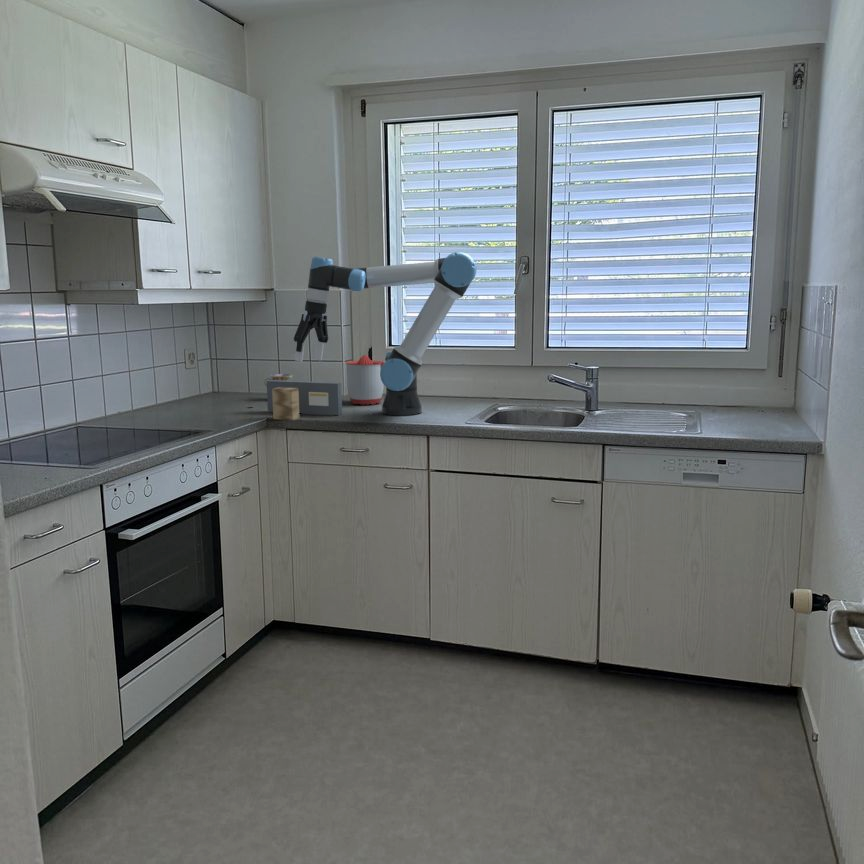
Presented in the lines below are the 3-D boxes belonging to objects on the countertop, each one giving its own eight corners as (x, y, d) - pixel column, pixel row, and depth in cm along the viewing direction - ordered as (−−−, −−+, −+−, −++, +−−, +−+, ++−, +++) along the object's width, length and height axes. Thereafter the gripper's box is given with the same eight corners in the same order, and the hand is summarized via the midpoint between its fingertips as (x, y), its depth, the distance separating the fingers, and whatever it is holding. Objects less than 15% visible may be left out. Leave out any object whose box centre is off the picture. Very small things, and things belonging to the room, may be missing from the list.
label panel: (342, 414, 293) (341, 382, 291) (338, 415, 290) (337, 383, 287) (272, 410, 303) (270, 380, 300) (267, 412, 299) (265, 381, 297)
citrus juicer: (385, 406, 311) (384, 356, 308) (342, 406, 313) (341, 356, 310) (392, 400, 327) (391, 353, 323) (351, 400, 329) (350, 352, 325)
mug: (295, 398, 336) (294, 373, 334) (292, 401, 327) (291, 376, 325) (267, 398, 335) (266, 374, 333) (263, 401, 326) (262, 376, 324)
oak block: (299, 417, 287) (298, 388, 285) (292, 420, 282) (291, 389, 280) (280, 416, 289) (279, 387, 287) (273, 418, 284) (272, 388, 282)
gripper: (324, 300, 290) (316, 357, 294) (288, 298, 267) (280, 359, 271) (342, 304, 287) (334, 361, 291) (307, 302, 264) (299, 363, 268)
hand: (308, 360), depth 281 cm, fingers open, 13 cm apart
